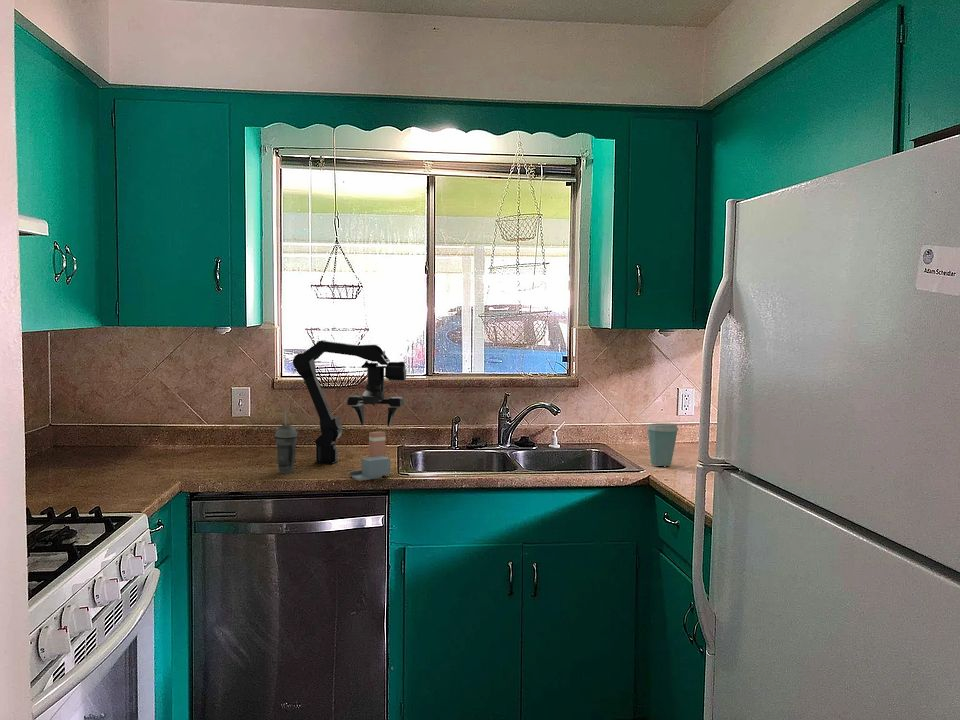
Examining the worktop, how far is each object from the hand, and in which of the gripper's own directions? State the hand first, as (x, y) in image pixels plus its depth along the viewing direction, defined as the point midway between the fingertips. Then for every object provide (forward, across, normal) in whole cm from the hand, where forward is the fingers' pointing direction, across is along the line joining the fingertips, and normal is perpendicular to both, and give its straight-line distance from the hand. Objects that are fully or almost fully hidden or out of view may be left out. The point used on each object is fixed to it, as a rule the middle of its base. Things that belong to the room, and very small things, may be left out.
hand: (375, 425), depth 268 cm
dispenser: (+13, +5, -22) cm, 26 cm away
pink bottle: (+13, +4, -13) cm, 19 cm away
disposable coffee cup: (+13, +98, +17) cm, 100 cm away
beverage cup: (+13, -24, -20) cm, 34 cm away
